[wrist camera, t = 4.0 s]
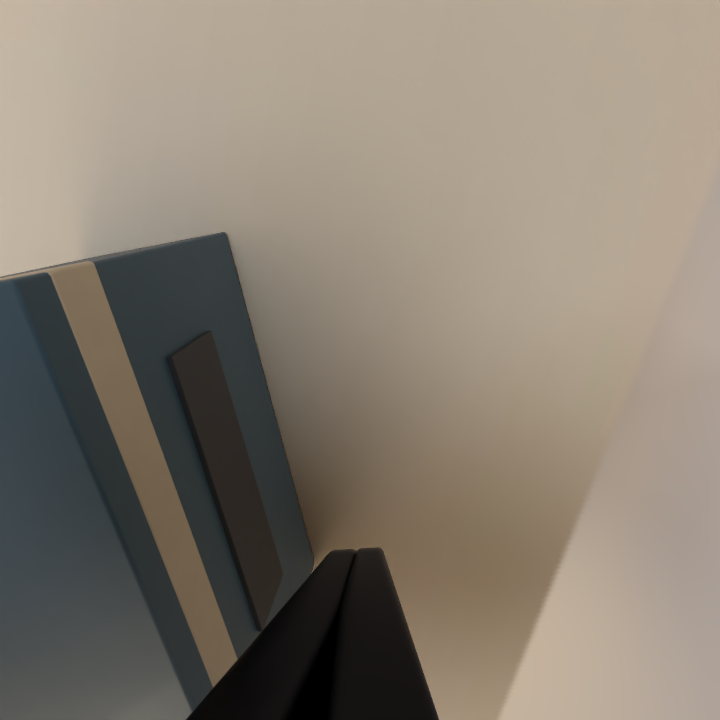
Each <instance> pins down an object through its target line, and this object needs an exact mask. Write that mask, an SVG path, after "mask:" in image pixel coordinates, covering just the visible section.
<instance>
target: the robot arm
mask: <svg viewBox="0 0 720 720" xmlns="http://www.w3.org/2000/svg"><path fill="white" fill-rule="evenodd" d="M186 720H439V718H438V715H437V712H436V709H435V706H434V703H433V700H432V697H431V694H430V691H429V688H428V685H427V682H426V679H425V676H424V673H423V670H422V667H421V664H420V661H419V658H418V655H417V652H416V649H415V646H414V643H413V640H412V637H411V634H410V631H409V628H408V625H407V622H406V619H405V616H404V613H403V610H402V607H401V604H400V601H399V598H398V595H397V592H396V589H395V586H394V583H393V580H392V577H391V574H390V571H389V567H388V564H387V561H386V558H385V555H384V553H383V550H382V549H381V548H379V547H376V548H361V549H359V550H358V551H357V552H356V551H355V550H354V549H345V550H334V551H331V552H330V553H329V554H328V555H327V556H326V557H325V558H324V560H323V561H322V562H321V563H320V564H319V565H318V567H317V568H316V569H315V570H314V571H313V572H312V574H311V575H310V576H309V577H308V578H307V579H306V581H305V582H304V583H303V584H302V585H301V586H300V588H299V589H298V590H297V591H296V592H295V593H294V594H293V596H292V597H291V598H290V599H289V600H288V601H287V603H286V604H285V605H284V606H283V607H282V608H281V610H280V611H279V612H278V613H277V614H276V615H275V617H274V618H273V619H272V620H271V621H270V622H269V624H268V625H267V626H266V627H265V628H264V629H263V631H262V632H261V633H260V634H259V635H258V636H257V637H256V639H255V640H254V641H253V642H252V643H251V644H250V646H249V647H248V648H247V649H246V650H245V651H244V653H243V654H242V655H241V656H240V657H239V658H238V660H237V661H236V662H235V663H234V664H233V665H232V667H231V668H230V669H229V670H228V671H227V672H226V673H225V675H224V676H223V677H222V678H221V679H220V680H219V682H218V683H217V684H216V685H215V686H214V687H213V689H212V690H211V691H210V692H209V693H208V694H207V696H206V697H205V698H204V699H203V700H202V701H201V703H200V704H199V705H198V706H197V707H196V708H195V710H194V711H193V712H192V713H191V714H190V715H189V716H188V718H187V719H186Z"/></svg>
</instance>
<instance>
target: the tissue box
mask: <svg viewBox="0 0 720 720" xmlns="http://www.w3.org/2000/svg"><path fill="white" fill-rule="evenodd" d="M313 566H314V559H313V555H312V551H311V548H310V544H309V540H308V536H307V533H306V529H305V525H304V522H303V518H302V514H301V510H300V507H299V503H298V499H297V495H296V492H295V488H294V484H293V481H292V477H291V473H290V469H289V466H288V462H287V458H286V454H285V451H284V447H283V443H282V440H281V436H280V432H279V428H278V425H277V421H276V417H275V414H274V410H273V406H272V402H271V399H270V395H269V391H268V387H267V384H266V380H265V376H264V373H263V369H262V365H261V361H260V358H259V354H258V350H257V347H256V343H255V339H254V335H253V332H252V328H251V324H250V320H249V317H248V313H247V309H246V306H245V302H244V298H243V294H242V291H241V287H240V283H239V279H238V276H237V272H236V268H235V265H234V261H233V257H232V253H231V250H230V246H229V242H228V239H227V235H226V233H225V232H221V233H216V234H211V235H206V236H201V237H196V238H191V239H185V240H180V241H175V242H170V243H165V244H160V245H155V246H150V247H144V248H139V249H134V250H129V251H124V252H119V253H114V254H108V255H103V256H98V257H93V258H88V259H83V260H78V261H73V262H68V263H64V264H59V265H54V266H49V267H45V268H40V269H35V270H31V271H26V272H21V273H16V274H12V275H7V276H2V277H0V720H186V719H187V718H188V716H189V715H190V714H191V713H192V712H193V711H194V710H195V708H196V707H197V706H198V705H199V704H200V703H201V701H202V700H203V699H204V698H205V697H206V696H207V694H208V693H209V692H210V691H211V690H212V689H213V687H214V686H215V685H216V684H217V683H218V682H219V680H220V679H221V678H222V677H223V676H224V675H225V673H226V672H227V671H228V670H229V669H230V668H231V667H232V665H233V664H234V663H235V662H236V661H237V660H238V658H239V657H240V656H241V655H242V654H243V653H244V651H245V650H246V649H247V648H248V647H249V646H250V644H251V643H252V642H253V641H254V640H255V639H256V637H257V636H258V635H259V634H260V633H261V632H262V631H263V629H264V628H265V627H266V626H267V625H268V624H269V622H270V621H271V620H272V619H273V618H274V617H275V615H276V614H277V613H278V612H279V611H280V610H281V608H282V607H283V606H284V605H285V604H286V603H287V601H288V600H289V599H290V598H291V597H292V596H293V594H294V593H295V592H296V591H297V590H298V589H299V588H300V586H301V585H302V584H303V583H304V582H305V581H306V579H307V578H308V577H309V576H310V575H311V572H312V569H313Z"/></svg>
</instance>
